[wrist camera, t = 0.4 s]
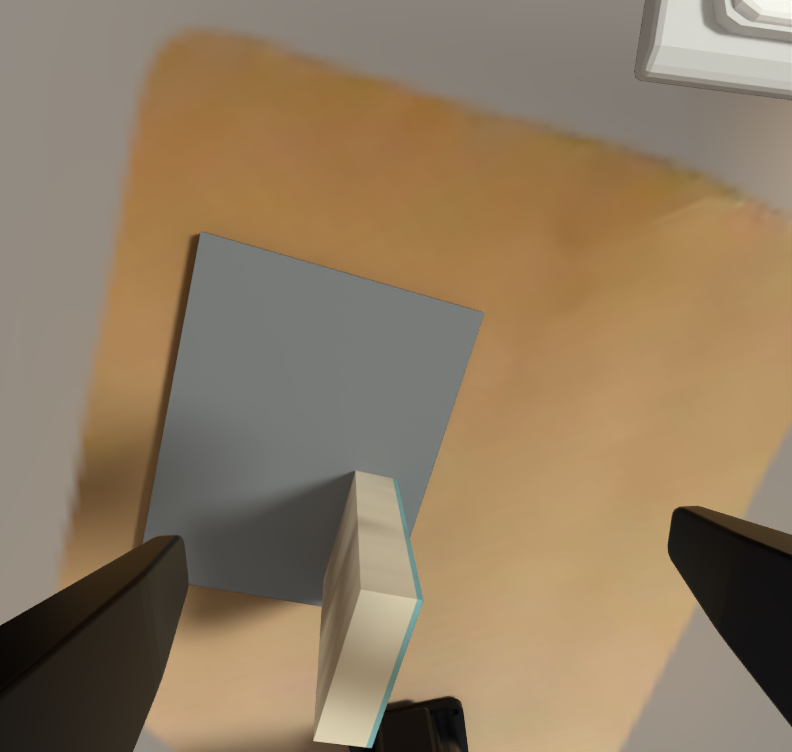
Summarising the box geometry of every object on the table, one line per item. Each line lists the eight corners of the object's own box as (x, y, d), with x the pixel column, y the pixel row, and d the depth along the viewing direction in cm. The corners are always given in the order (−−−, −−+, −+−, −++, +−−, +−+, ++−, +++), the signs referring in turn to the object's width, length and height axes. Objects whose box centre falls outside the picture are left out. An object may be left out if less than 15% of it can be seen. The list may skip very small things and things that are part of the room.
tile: (363, 586, 24) (371, 748, 16) (323, 579, 24) (312, 741, 16) (397, 479, 23) (423, 600, 15) (355, 470, 22) (360, 589, 15)
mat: (382, 608, 25) (383, 617, 25) (141, 567, 23) (136, 575, 23) (480, 311, 22) (484, 313, 21) (205, 232, 20) (200, 231, 19)
